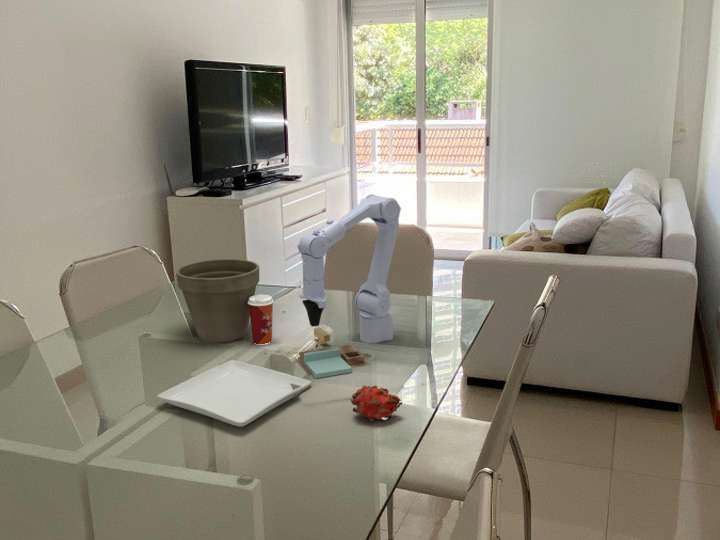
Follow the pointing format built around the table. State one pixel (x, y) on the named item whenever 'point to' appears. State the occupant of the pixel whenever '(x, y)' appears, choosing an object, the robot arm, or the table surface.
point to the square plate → (235, 392)
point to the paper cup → (261, 318)
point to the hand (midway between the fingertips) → (314, 325)
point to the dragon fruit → (375, 402)
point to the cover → (326, 363)
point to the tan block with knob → (321, 335)
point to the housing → (346, 354)
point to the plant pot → (219, 296)
